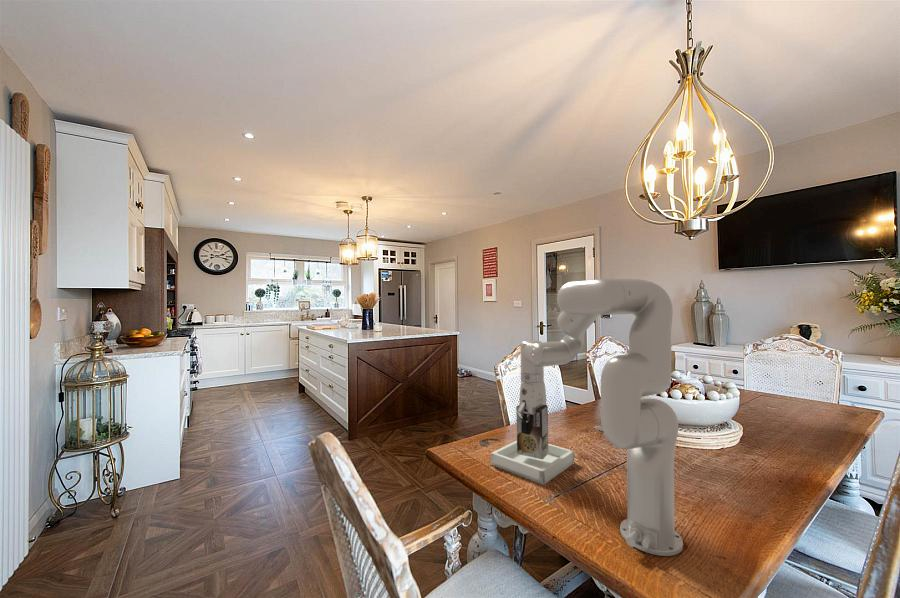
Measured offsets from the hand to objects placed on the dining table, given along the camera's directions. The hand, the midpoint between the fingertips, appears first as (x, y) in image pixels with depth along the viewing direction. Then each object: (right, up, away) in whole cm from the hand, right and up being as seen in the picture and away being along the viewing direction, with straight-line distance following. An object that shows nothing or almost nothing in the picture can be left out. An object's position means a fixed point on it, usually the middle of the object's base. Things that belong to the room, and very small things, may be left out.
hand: (532, 430), depth 123 cm
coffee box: (0, -8, 0) cm, 8 cm away
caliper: (+38, -12, +25) cm, 47 cm away
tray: (0, -11, 0) cm, 11 cm away
